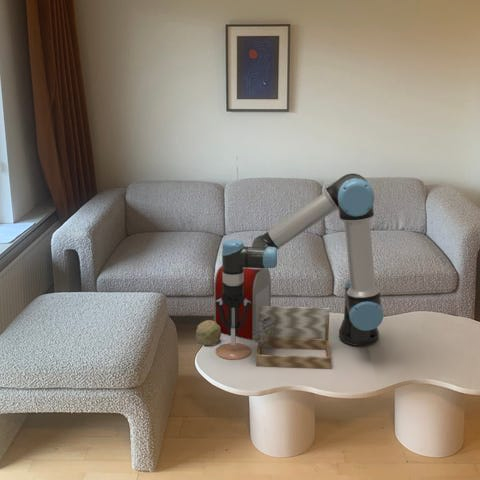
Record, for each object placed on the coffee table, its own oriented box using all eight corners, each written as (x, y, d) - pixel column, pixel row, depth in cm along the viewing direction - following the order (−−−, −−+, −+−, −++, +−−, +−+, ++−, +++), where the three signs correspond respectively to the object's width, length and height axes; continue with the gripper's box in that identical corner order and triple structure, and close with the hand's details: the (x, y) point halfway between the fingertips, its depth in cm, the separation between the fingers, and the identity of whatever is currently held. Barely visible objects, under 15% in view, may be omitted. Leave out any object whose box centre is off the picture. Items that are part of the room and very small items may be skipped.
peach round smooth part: (252, 345, 249) (252, 343, 249) (249, 360, 237) (249, 358, 237) (217, 344, 250) (217, 342, 250) (213, 359, 238) (213, 357, 238)
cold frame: (328, 348, 247) (329, 308, 242) (330, 368, 230) (332, 326, 226) (258, 345, 249) (258, 306, 244) (256, 366, 232) (256, 323, 228)
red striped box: (254, 342, 252) (254, 275, 245) (213, 334, 259) (212, 269, 252) (271, 327, 266) (272, 263, 259) (231, 319, 273) (231, 257, 266)
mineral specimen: (279, 329, 245) (270, 326, 247) (278, 312, 240) (268, 309, 242) (258, 354, 235) (248, 350, 237) (256, 337, 231) (246, 333, 233)
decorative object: (208, 355, 248) (224, 336, 245) (187, 339, 248) (202, 319, 245) (213, 347, 257) (228, 328, 254) (193, 330, 257) (208, 312, 254)
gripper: (251, 279, 239) (251, 339, 246) (216, 279, 240) (216, 338, 247) (250, 286, 232) (250, 348, 239) (213, 285, 233) (214, 347, 240)
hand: (233, 343), depth 243 cm, fingers closed
